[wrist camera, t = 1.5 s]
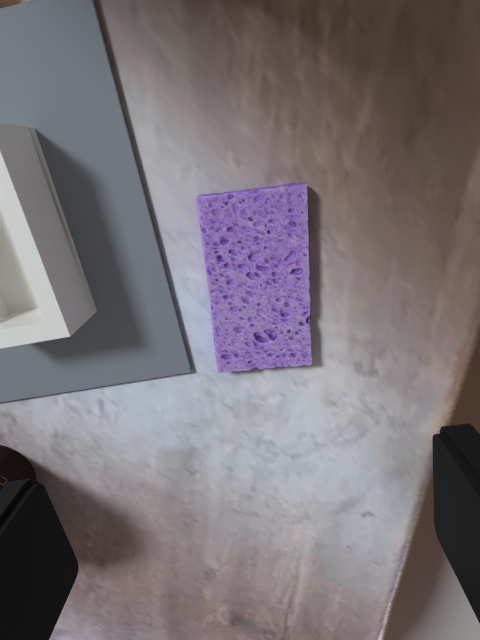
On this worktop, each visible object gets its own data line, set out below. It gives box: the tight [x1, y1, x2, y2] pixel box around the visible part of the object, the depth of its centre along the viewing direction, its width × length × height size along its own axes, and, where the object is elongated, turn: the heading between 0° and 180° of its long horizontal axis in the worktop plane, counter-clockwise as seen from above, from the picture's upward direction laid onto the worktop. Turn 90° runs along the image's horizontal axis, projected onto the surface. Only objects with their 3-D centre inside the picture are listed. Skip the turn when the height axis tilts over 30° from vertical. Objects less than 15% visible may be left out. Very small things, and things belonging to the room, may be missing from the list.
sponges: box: [196, 183, 312, 373], centre depth 27 cm, size 7×13×2 cm, turn 5°
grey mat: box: [0, 0, 192, 402], centre depth 27 cm, size 24×18×1 cm
